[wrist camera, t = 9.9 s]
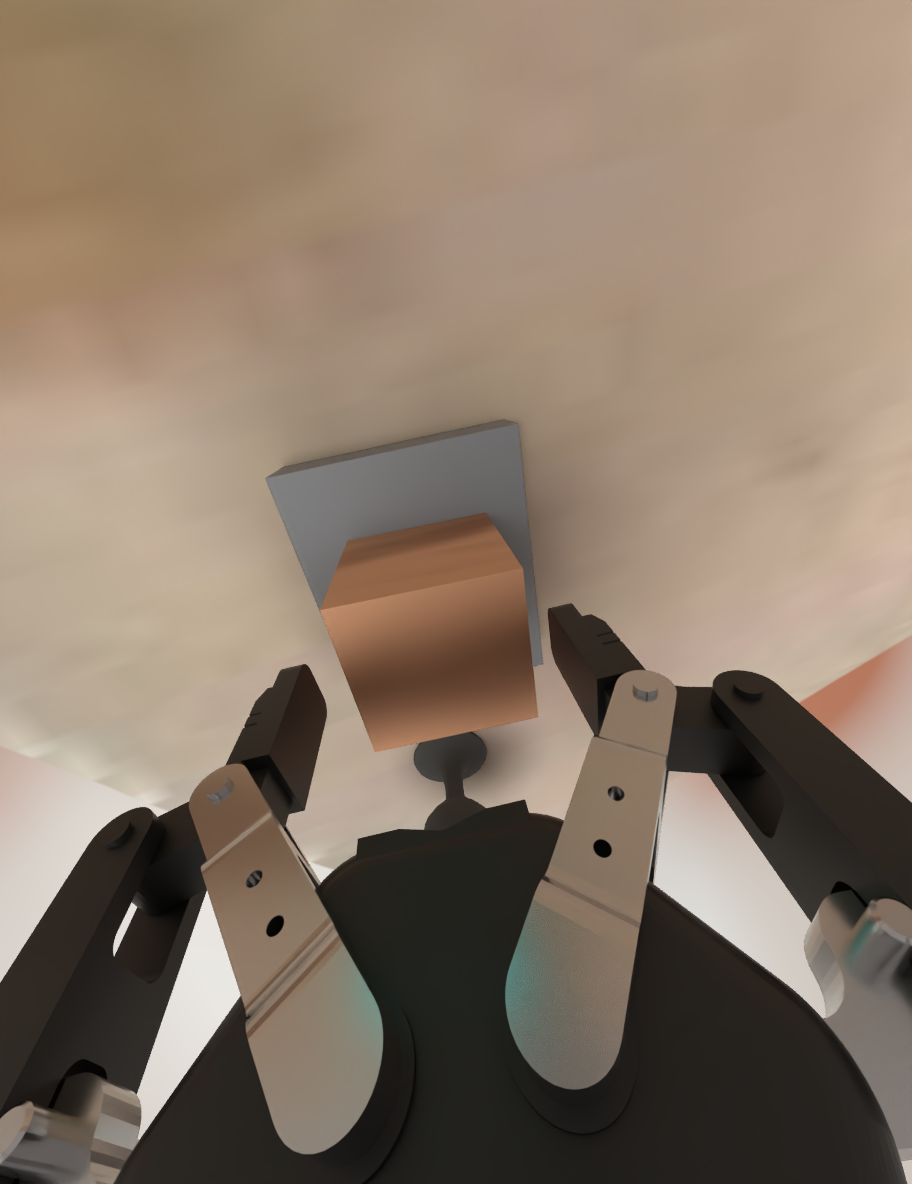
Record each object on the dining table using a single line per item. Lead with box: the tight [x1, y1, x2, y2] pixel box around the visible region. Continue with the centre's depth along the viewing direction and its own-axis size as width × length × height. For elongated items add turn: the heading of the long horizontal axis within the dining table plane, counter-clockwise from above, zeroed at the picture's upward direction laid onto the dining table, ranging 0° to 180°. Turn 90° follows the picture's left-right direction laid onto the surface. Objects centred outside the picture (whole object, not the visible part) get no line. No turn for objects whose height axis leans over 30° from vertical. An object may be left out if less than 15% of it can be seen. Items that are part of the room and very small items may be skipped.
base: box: [265, 420, 543, 666], centre depth 19 cm, size 12×10×3 cm
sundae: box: [414, 732, 486, 830], centre depth 20 cm, size 7×7×15 cm
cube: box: [320, 513, 538, 752], centre depth 15 cm, size 6×6×6 cm
